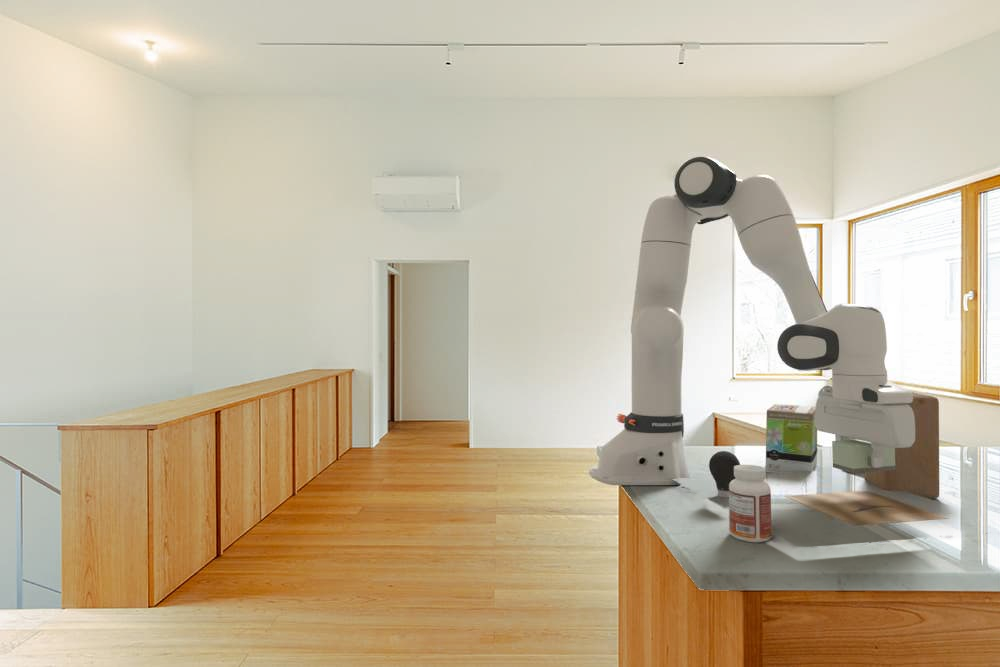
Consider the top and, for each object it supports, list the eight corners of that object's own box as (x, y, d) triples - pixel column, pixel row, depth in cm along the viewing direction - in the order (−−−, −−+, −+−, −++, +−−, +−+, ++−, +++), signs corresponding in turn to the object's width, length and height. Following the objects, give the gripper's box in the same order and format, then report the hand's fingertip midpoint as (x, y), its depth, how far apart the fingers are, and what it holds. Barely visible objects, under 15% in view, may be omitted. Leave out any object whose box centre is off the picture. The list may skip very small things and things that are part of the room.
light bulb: (737, 509, 106) (737, 455, 106) (706, 505, 109) (705, 452, 109) (743, 502, 111) (742, 450, 111) (712, 497, 114) (712, 447, 114)
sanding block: (853, 473, 105) (852, 445, 105) (832, 467, 110) (832, 441, 110) (895, 469, 107) (894, 443, 107) (873, 464, 112) (872, 438, 112)
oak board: (855, 534, 93) (854, 525, 93) (785, 503, 110) (785, 495, 110) (949, 527, 96) (949, 518, 96) (867, 498, 113) (867, 490, 113)
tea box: (813, 478, 128) (813, 412, 128) (764, 473, 134) (764, 409, 134) (818, 465, 141) (817, 405, 141) (773, 460, 146) (772, 402, 146)
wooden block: (941, 500, 111) (941, 397, 111) (884, 498, 113) (883, 396, 113) (915, 487, 121) (915, 391, 121) (863, 484, 123) (862, 391, 123)
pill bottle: (760, 530, 95) (760, 463, 95) (778, 543, 89) (778, 472, 89) (723, 530, 95) (722, 463, 95) (738, 543, 89) (738, 472, 89)
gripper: (805, 385, 118) (806, 452, 118) (890, 395, 98) (891, 476, 98) (832, 384, 119) (833, 451, 119) (921, 394, 99) (923, 474, 99)
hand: (860, 463), depth 108 cm, fingers closed on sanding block, 5 cm apart
